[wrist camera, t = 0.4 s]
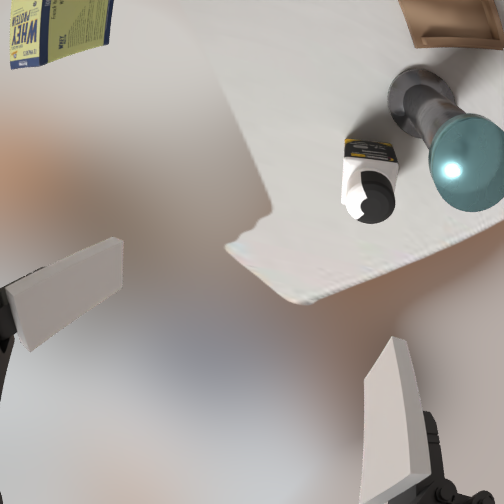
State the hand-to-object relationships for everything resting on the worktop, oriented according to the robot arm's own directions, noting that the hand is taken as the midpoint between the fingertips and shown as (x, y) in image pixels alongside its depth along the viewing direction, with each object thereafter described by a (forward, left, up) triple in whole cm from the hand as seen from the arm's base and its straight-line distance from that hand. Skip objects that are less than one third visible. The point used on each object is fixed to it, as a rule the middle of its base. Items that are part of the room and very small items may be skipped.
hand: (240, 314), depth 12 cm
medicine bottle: (+10, +5, -33) cm, 35 cm away
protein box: (-34, -27, -33) cm, 55 cm away
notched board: (-13, +23, -33) cm, 42 cm away
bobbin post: (+2, +15, -33) cm, 36 cm away
